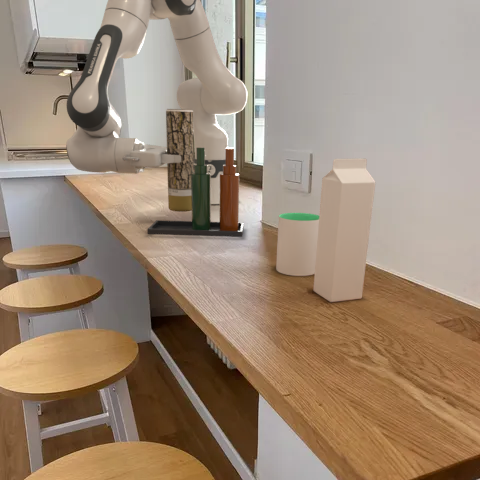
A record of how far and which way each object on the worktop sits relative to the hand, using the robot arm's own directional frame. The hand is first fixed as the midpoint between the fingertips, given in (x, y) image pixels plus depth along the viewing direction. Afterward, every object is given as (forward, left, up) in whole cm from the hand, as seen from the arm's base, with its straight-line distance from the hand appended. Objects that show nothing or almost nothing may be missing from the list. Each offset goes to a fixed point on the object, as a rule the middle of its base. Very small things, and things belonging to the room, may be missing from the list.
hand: (183, 157), depth 128 cm
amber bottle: (+9, +13, -17) cm, 23 cm away
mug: (+39, +30, -18) cm, 52 cm away
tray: (+9, +5, -17) cm, 20 cm away
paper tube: (0, -1, -14) cm, 14 cm away
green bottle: (+9, +6, -17) cm, 20 cm away
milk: (+54, +34, -18) cm, 66 cm away
